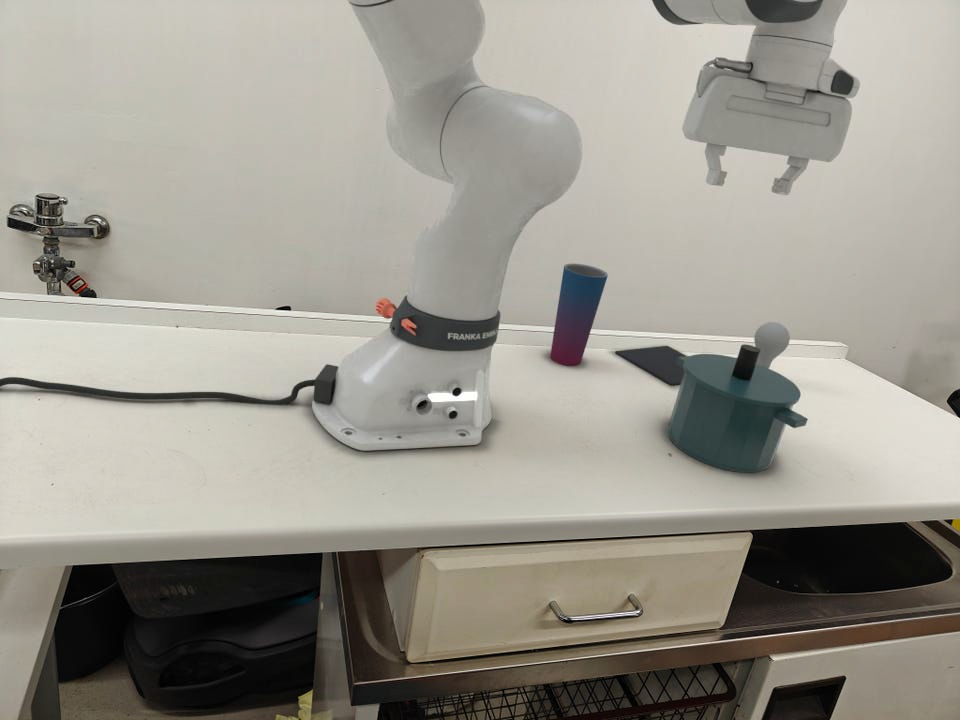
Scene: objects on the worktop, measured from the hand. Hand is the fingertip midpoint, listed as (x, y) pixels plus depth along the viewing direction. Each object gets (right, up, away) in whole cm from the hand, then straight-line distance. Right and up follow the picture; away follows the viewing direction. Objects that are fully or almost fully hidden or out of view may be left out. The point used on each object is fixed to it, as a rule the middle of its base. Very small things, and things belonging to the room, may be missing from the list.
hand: (747, 189), depth 88 cm
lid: (+1, -24, +4) cm, 24 cm away
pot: (-1, -32, +8) cm, 33 cm away
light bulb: (+15, -24, +35) cm, 45 cm away
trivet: (-1, -22, +33) cm, 40 cm away
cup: (-19, -21, +28) cm, 40 cm away
